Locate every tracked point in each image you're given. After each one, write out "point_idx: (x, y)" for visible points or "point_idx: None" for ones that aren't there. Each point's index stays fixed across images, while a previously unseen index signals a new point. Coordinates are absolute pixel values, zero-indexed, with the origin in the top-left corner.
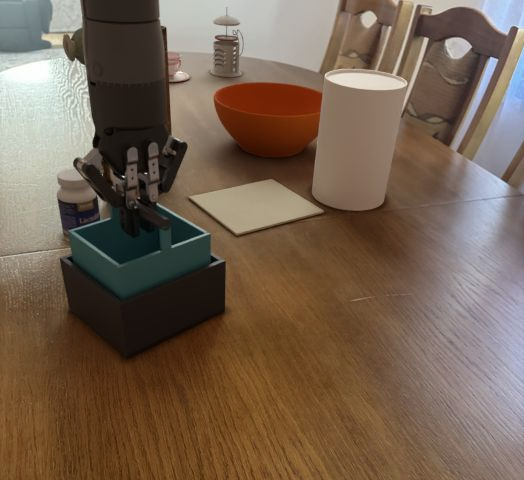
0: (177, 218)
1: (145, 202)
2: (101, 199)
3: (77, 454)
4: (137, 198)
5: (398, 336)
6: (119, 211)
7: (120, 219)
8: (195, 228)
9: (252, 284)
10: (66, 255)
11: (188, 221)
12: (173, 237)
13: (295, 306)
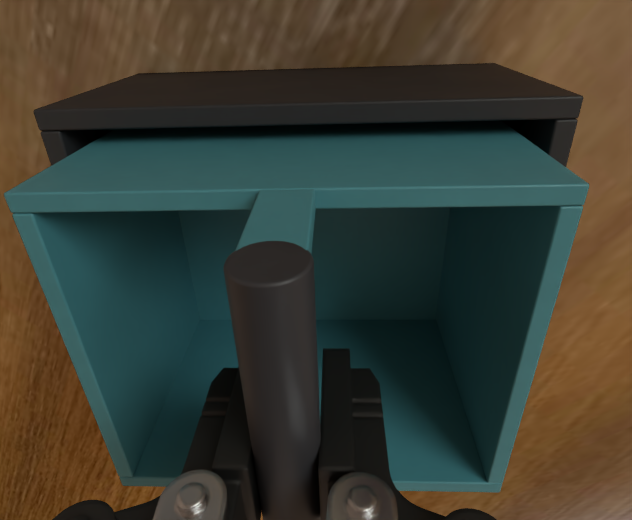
0: (518, 354)
1: (323, 516)
2: (62, 513)
3: (49, 419)
4: (319, 469)
5: (607, 512)
6: (191, 452)
7: (203, 416)
8: (496, 443)
9: (606, 276)
10: (64, 113)
11: (521, 404)
12: (489, 264)
13: (581, 384)
